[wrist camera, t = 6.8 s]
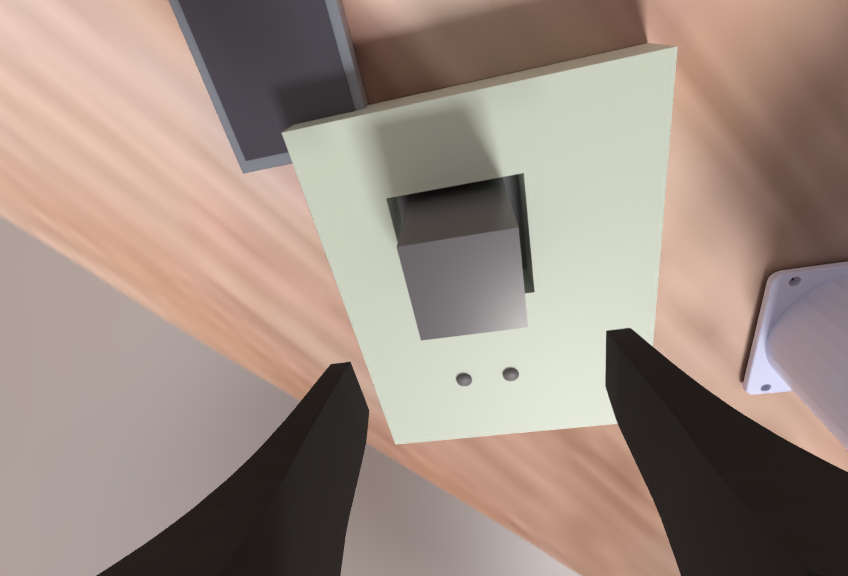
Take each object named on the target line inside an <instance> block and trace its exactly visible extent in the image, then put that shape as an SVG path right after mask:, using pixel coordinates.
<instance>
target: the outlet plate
mask: <svg viewBox="0 0 848 576" xmlns="http://www.w3.org/2000/svg"><path fill="white" fill-rule="evenodd" d="M677 47H678V46H670V45H661V44H652V43H646V44H641V45H637V46H632V47H628V48H623V49H619V50H614V51H610V52H605V53H601V54H596V55H592V56H587V57H583V58H578V59H574V60H569V61H565V62H560V63H556V64H551V65H546V66H542V67H537V68H533V69H528V70H524V71H519V72H515V73H510V74H506V75H501V76H497V77H492V78H488V79H483V80H479V81H474V82H470V83H465V84H461V85H456V86H452V87H447V88H443V89H438V90H434V91H429V92H425V93H420V94H416V95H411V96H407V97H402V98H398V99H393V100H388V101H384V102H379V103H375V104H370V105H368V106H367V107H366V108H365V109H361V110H357V111H354V112H349V113H344V114H340V115H335V116H331V117H326V118H322V119H317V120H313V121H308V122H304V123H299V124H294V125H293V126H291V127H290V128H288V129H286V130H285V131H283V132H282V135H283V138H284V141H285V144H286V146H287V149H288V152H289V155H290V157H291V160H292V163H293V166H294V168H295V171H296V174H297V177H298V179H299V182H300V185H301V187H302V190H303V193H304V196H305V198H306V201H307V204H308V207H309V209H310V212H311V215H312V218H313V220H314V223H315V226H316V228H317V231H318V234H319V237H320V239H321V242H322V245H323V248H324V250H325V253H326V256H327V259H328V261H329V264H330V267H331V269H332V272H333V275H334V278H335V280H336V283H337V286H338V289H339V291H340V294H341V297H342V300H343V302H344V305H345V308H346V311H347V313H348V316H349V319H350V321H351V324H352V327H353V330H354V332H355V335H356V338H357V341H358V343H359V346H360V349H361V352H362V354H363V357H364V360H365V362H366V365H367V368H368V371H369V373H370V376H371V379H372V382H373V384H374V387H375V390H376V393H377V395H378V398H379V401H380V403H381V406H382V409H383V412H384V414H385V417H386V420H387V423H388V425H389V428H390V431H391V434H392V436H393V439H394V442H395V444H406V443H416V442H427V441H438V440H448V439H459V438H470V437H480V436H491V435H502V434H513V433H523V432H534V431H545V430H555V429H566V428H577V427H588V426H598V425H609V424H618V423H617V421H616V418H615V415H614V412H613V409H612V406H611V403H610V400H609V396H608V393H607V390H606V387H605V373H606V331H607V330H616V329H624V328H631V329H632V330H634V331H635V332H636V333H637V334H639V335H640V336H641V337H642V338H643V339H644V340H646V341H647V342H648V343H649V344H650V345H651V346H653V338H654V326H655V314H656V302H657V290H658V277H659V265H660V253H661V241H662V229H663V217H664V205H665V192H666V180H667V168H668V156H669V144H670V132H671V120H672V108H673V95H674V83H675V71H676V59H677ZM500 177H502V178H503V181H504V184H505V187H506V190H507V193H508V196H509V199H510V202H511V206H512V209H513V212H514V215H515V218H516V221H517V224H518V227H519V238H520V248H521V258H522V269H523V279H524V289H525V300H526V310H527V320H528V327H526V328H518V329H510V330H502V331H494V332H486V333H478V334H470V335H462V336H454V337H446V338H438V339H430V340H422V341H421V339H420V335H419V331H418V327H417V323H416V320H415V316H414V312H413V308H412V304H411V301H410V297H409V293H408V289H407V285H406V281H405V278H404V274H403V270H402V266H401V262H400V258H399V255H398V251H397V243H398V239H399V235H400V231H401V227H402V223H403V219H404V214H405V210H406V206H407V202H408V198H409V194H413V193H419V192H424V191H429V190H435V189H440V188H446V187H451V186H456V185H462V184H467V183H473V182H478V181H483V180H489V179H494V178H500Z"/></svg>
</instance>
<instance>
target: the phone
mask: <svg viewBox="0 0 848 576" xmlns="http://www.w3.org/2000/svg"><path fill="white" fill-rule="evenodd" d="M169 2H170V5H171V7H172V9H173V12H174V14H175V16H176V19H177V21H178V23H179V26H180V28H181V30H182V33H183V35H184V37H185V40H186V42H187V44H188V47H189V49H190V51H191V54H192V56H193V58H194V61H195V63H196V65H197V68H198V70H199V72H200V75H201V77H202V79H203V82H204V84H205V86H206V89H207V91H208V93H209V95H210V98H211V100H212V102H213V105H214V107H215V109H216V112H217V114H218V116H219V119H220V121H221V123H222V126H223V128H224V130H225V133H226V135H227V137H228V140H229V142H230V144H231V147H232V149H233V151H234V154H235V156H236V158H237V161H238V163H239V165H240V168H241V170H242V172H243V173H248V172H253V171H258V170H263V169H268V168H272V167H277V166H282V165H287V164H292V160H291V157H290V155H289V152H288V149H287V146H286V144H285V141H284V138H283V135H282V132H283V131H285V130H286V129H288V128H290V127H291V126H293V125H294V124H299V123H304V122H308V121H313V120H317V119H322V118H326V117H331V116H335V115H340V114H344V113H349V112H354V111H357V110H361V109H365V108H366V107H367V106H368V101H367V97H366V93H365V90H364V86H363V82H362V78H361V74H360V70H359V66H358V62H357V58H356V55H355V51H354V47H353V43H352V39H351V35H350V31H349V27H348V23H347V20H346V16H345V12H344V8H343V4H342V0H169Z"/></svg>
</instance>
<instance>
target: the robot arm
mask: <svg viewBox="0 0 848 576" xmlns="http://www.w3.org/2000/svg"><path fill="white" fill-rule="evenodd" d="M794 277H795V278H794ZM792 278H794V279H793V280H792V281H790V280H791V279H792ZM789 281H790V282H789ZM605 387H606V390H607V393H608V396H609V400H610V403H611V406H612V409H613V412H614V415H615V418H616V421H617V423H618V425H619V427H620V429H621V432H622V434H623V436H624V438H625V440H626V442H627V445H628V447H629V449H630V451H631V453H632V455H633V457H634V460H635V462H636V464H637V466H638V468H639V470H640V472H641V474H642V477H643V479H644V481H645V483H646V485H647V487H648V489H649V492H650V494H651V496H652V498H653V500H654V503H655V505H656V507H657V510H658V512H659V515H660V517H661V520H662V523H663V525H664V528H665V531H666V534H667V537H668V539H669V542H670V545H671V548H672V550H673V553H674V556H675V559H676V562H677V565H678V568H679V571H680V574H681V576H848V472H846V471H844V470H842V469H840V468H838V467H836V466H834V465H832V464H830V463H828V462H826V461H824V460H822V459H821V458H819V457H817V456H815V455H813V454H811V453H809V452H807V451H805V450H804V449H802V448H800V447H798V446H796V445H794V444H792V443H791V442H789V441H787V440H785V439H783V438H782V437H780V436H778V435H776V434H775V433H773V432H771V431H770V430H768V429H766V428H765V427H763V426H761V425H760V424H758V423H756V422H755V421H753V420H751V419H750V418H748V417H747V416H745V415H743V414H742V413H740V412H739V411H737V410H736V409H734V408H733V407H731V406H730V405H728V404H727V403H725V402H724V401H722V400H721V399H720V398H718V397H717V396H715V395H714V394H712V393H711V392H710V391H708V390H707V389H706V388H704V387H703V386H701V385H700V384H699V383H697V382H696V381H695V380H694V379H692V378H691V377H690V376H688V375H687V374H686V373H685V372H683V371H682V370H681V369H679V368H678V367H677V366H676V365H674V364H673V363H672V362H671V361H669V360H668V359H667V358H666V357H665V356H663V355H662V354H661V353H660V352H659V351H657V350H656V349H655V348H654V347H653V346H651V345H650V344H649V343H648V342H647V341H646V340H644V339H643V338H642V337H641V336H640V335H639V334H637V333H636V332H635V331H634V330H632V329H631V328H624V329H616V330H607V331H606V373H605ZM743 388H744V390H745V391H746V392H747V393H748V394H754V395H755V394H765V393H775V392H785V391H793V392H794V393H795V394H796V395H797V396H798V397H799V398H800V399H801V400H802V401H803V402H804V404H805V405H806V406H807V407H808V408H809V409H810V410H811V411H812V412H813V413H814V414H815V415H816V417H817V418H818V419H819V420H820V421H821V422H822V423H823V424H824V425H825V426H826V427H827V429H828V430H829V431H830V432H831V433H832V434H833V435H834V436H835V437H836V438H837V439H838V440H839V442H840V443H841V444H842V445H843V446H844V447H845V448H846V449H847V450H848V261H846V262H839V263H832V264H824V265H817V266H810V267H803V268H796V269H788V270H781V271H777V272H775V273H773V274H772V275H771V276H770V277H769V278H768V280H767V284H766V288H765V292H764V296H763V301H762V305H761V309H760V313H759V318H758V322H757V326H756V331H755V335H754V339H753V343H752V348H751V352H750V356H749V361H748V365H747V369H746V373H745V378H744V382H743ZM368 418H369V409H368V406H367V404H366V401H365V398H364V396H363V393H362V391H361V388H360V385H359V383H358V380H357V378H356V375H355V372H354V370H353V367H352V365H351V362H345V363H337V364H331V365H330V366H329V367H328V368H327V370H326V371H325V372H324V373H323V374H322V376H321V377H320V378H319V379H318V381H317V382H316V383H315V384H314V386H313V387H312V388H311V389H310V391H309V392H308V393H307V394H306V396H305V397H304V398H303V399H302V400H301V402H300V403H299V404H298V405H297V407H296V408H295V409H294V410H293V411H292V413H291V414H290V415H289V416H288V417H287V419H286V420H285V421H284V422H283V423H282V424H281V425H280V426H279V428H278V429H277V430H276V431H275V432H274V433H273V434H272V435H271V436H270V438H269V439H268V440H267V441H266V442H265V443H264V444H263V445H262V446H261V447H260V448H259V449H258V450H257V451H256V452H255V454H253V456H252V457H250V458H249V459H248V460H247V461H246V462H245V463H244V464H243V465H242V466H241V467H240V468H239V469H238V470H237V471H236V472H235V473H234V474H233V475H232V476H231V477H229V478H228V479H227V480H226V481H225V482H224V483H222V484H221V485H220V486H219V487H218V488H217V489H215V490H214V491H213V492H212V493H211V494H209V495H208V496H207V497H206V498H205V499H204V500H202V501H201V502H200V503H199V504H198V505H197V506H195V507H194V508H193V509H191V510H190V511H189V512H188V513H186V514H185V515H184V516H182V517H181V518H180V519H179V520H177V521H176V522H175V523H173V524H172V525H171V526H169V527H168V528H166V529H165V530H164V531H162V532H161V533H160V534H158V535H157V536H156V537H154V538H153V539H151V540H150V541H148V542H147V543H146V544H144V545H143V546H141V547H140V548H138V549H137V550H135V551H134V552H132V553H131V554H129V555H127V556H126V557H124V558H123V559H122V560H120V561H118V562H117V563H115V564H114V565H112V566H111V567H109V568H108V569H107V570H105V571H103V572H101V573H100V574H98V575H97V576H340V574H341V565H342V559H343V551H344V543H345V536H346V530H347V525H348V520H349V515H350V511H351V507H352V502H353V498H354V494H355V489H356V485H357V481H358V477H359V472H360V468H361V463H362V459H363V454H364V450H365V445H366V438H367V429H368Z"/></svg>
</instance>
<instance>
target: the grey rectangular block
mask: <svg viewBox="0 0 848 576" xmlns="http://www.w3.org/2000/svg"><path fill="white" fill-rule="evenodd" d="M397 251H398V255H399V258H400V262H401V266H402V270H403V274H404V278H405V281H406V285H407V289H408V293H409V297H410V301H411V304H412V308H413V312H414V316H415V320H416V323H417V327H418V331H419V335H420V339H421V341H422V340H430V339H438V338H446V337H454V336H462V335H470V334H478V333H486V332H494V331H502V330H510V329H518V328H526V327H528V320H527V310H526V300H525V289H524V279H523V269H522V258H521V248H520V238H519V227H518V224H517V221H516V218H515V215H514V212H513V209H512V206H511V202H510V199H509V196H508V193H507V190H506V187H505V184H504V181H503V178H502V177H500V178H494V179H489V180H483V181H478V182H473V183H467V184H462V185H456V186H451V187H446V188H440V189H435V190H429V191H424V192H419V193H413V194H409V198H408V202H407V206H406V210H405V214H404V219H403V223H402V227H401V231H400V235H399V239H398V243H397Z"/></svg>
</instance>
